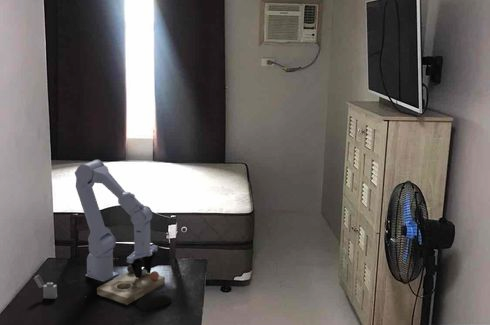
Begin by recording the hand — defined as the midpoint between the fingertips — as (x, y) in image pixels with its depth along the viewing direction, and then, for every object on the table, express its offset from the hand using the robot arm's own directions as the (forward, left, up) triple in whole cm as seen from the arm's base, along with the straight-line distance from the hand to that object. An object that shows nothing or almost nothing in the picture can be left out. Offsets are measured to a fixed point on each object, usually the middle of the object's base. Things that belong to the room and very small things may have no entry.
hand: (142, 274), depth 193 cm
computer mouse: (+14, -10, -3) cm, 18 cm away
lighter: (-20, -27, -3) cm, 34 cm away
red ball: (+6, 0, +1) cm, 6 cm away
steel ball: (0, 0, +1) cm, 1 cm away
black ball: (-6, 0, +1) cm, 6 cm away
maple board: (0, -6, -3) cm, 7 cm away
